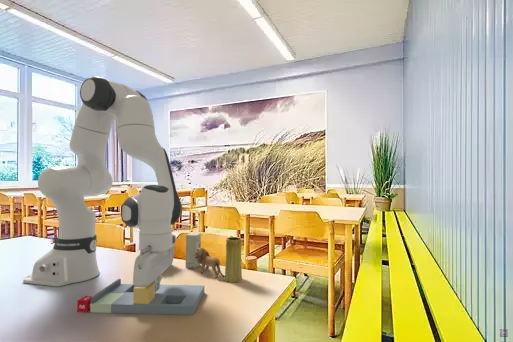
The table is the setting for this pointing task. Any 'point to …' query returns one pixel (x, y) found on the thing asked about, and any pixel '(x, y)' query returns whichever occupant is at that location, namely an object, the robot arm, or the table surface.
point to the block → (144, 294)
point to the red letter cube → (84, 304)
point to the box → (192, 249)
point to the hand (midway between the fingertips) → (154, 291)
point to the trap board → (121, 301)
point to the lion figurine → (208, 261)
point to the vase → (233, 260)
